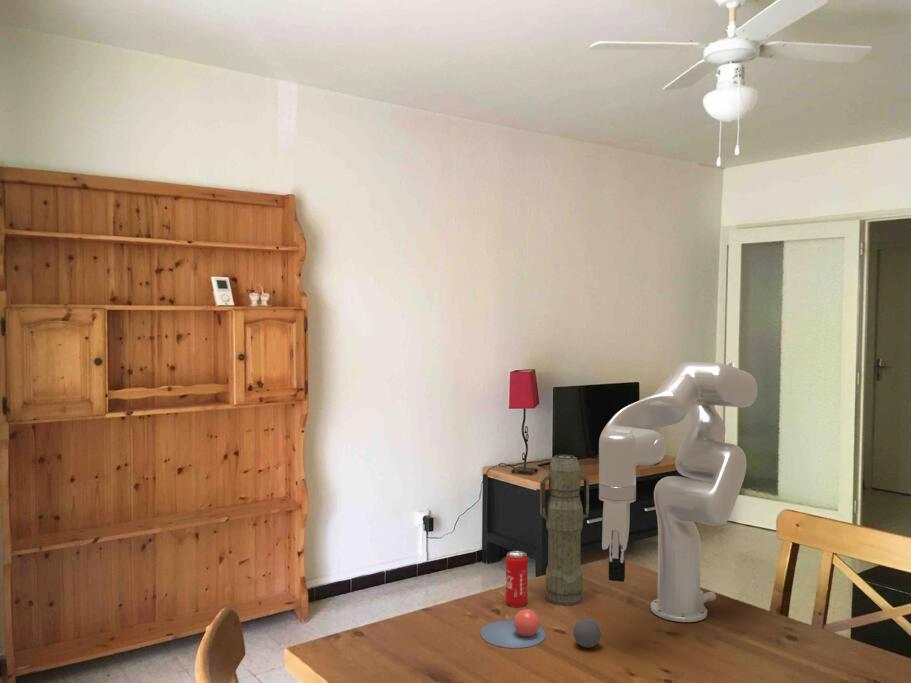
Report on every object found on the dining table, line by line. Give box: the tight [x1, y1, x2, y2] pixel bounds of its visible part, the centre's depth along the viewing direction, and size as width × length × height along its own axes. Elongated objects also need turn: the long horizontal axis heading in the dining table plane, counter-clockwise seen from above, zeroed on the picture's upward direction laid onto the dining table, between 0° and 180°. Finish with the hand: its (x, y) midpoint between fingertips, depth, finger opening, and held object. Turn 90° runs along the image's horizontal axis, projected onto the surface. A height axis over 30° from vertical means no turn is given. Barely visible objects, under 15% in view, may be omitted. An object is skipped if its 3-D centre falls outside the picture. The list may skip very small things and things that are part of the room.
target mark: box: [480, 619, 546, 649], centre depth 159 cm, size 14×14×1 cm
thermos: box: [539, 454, 590, 606], centre depth 179 cm, size 9×12×35 cm
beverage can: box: [505, 550, 529, 608], centre depth 176 cm, size 5×5×12 cm
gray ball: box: [573, 618, 602, 649], centre depth 153 cm, size 6×6×6 cm
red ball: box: [513, 608, 541, 637], centre depth 158 cm, size 6×6×6 cm
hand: (616, 579), depth 153 cm, fingers closed
